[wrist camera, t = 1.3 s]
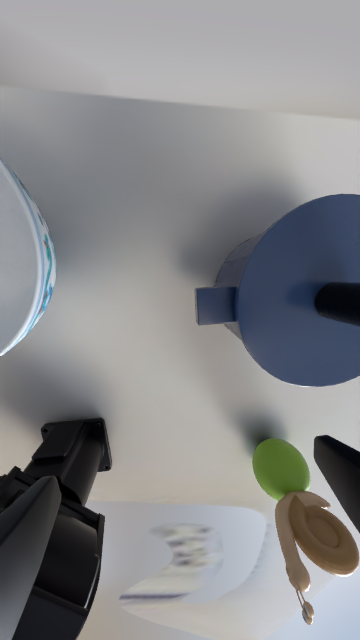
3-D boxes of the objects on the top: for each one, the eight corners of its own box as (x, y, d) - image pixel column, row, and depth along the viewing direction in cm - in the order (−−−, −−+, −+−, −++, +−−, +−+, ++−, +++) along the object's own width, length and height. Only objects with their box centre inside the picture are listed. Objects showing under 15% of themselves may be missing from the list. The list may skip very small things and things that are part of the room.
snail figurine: (237, 429, 23) (312, 589, 11) (291, 425, 23) (418, 577, 11) (235, 467, 24) (301, 649, 12) (286, 463, 24) (397, 637, 13)
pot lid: (387, 371, 14) (472, 407, 10) (232, 386, 14) (258, 430, 10) (418, 196, 12) (544, 155, 8) (230, 206, 11) (263, 168, 7)
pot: (338, 335, 21) (427, 366, 14) (190, 348, 20) (202, 387, 13) (350, 229, 19) (464, 199, 12) (183, 239, 18) (194, 214, 11)
